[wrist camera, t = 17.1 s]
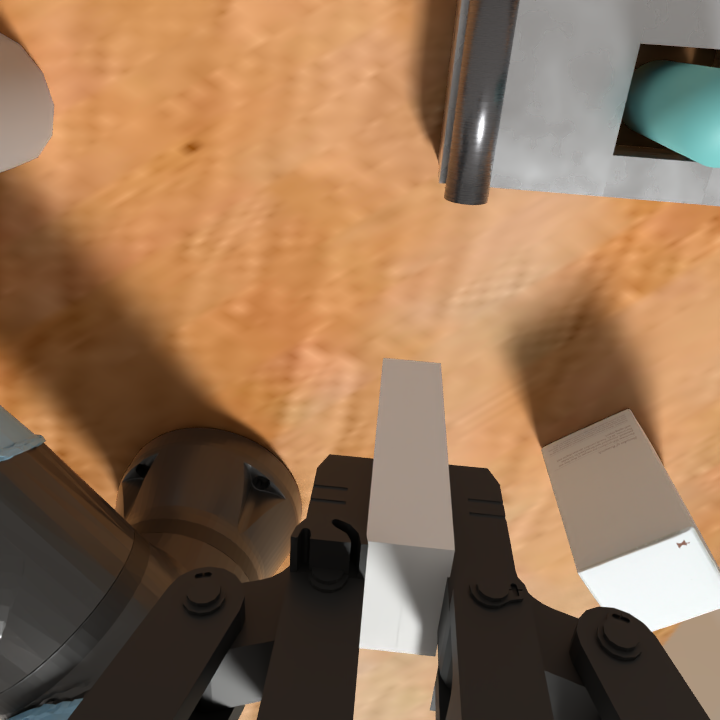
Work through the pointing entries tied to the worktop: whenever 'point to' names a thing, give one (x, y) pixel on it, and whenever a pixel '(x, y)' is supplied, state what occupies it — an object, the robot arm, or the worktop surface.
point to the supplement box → (630, 525)
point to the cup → (22, 106)
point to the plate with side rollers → (563, 99)
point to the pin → (677, 108)
